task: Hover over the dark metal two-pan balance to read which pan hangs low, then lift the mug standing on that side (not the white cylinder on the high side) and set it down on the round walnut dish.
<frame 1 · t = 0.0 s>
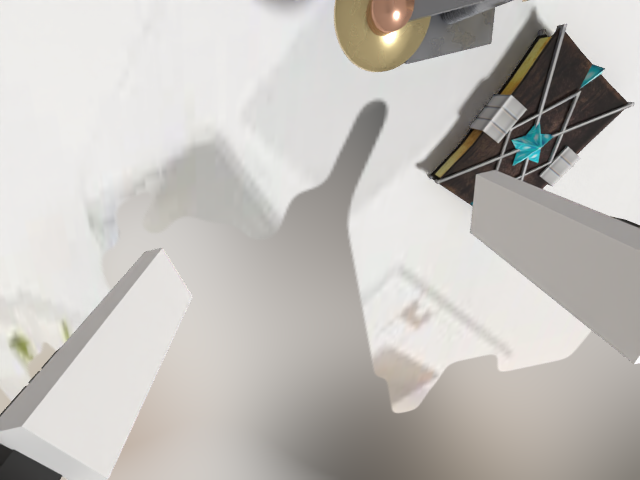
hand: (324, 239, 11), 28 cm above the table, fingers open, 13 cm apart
book: (512, 141, 39), on the table
balance: (447, 12, 30), on the table
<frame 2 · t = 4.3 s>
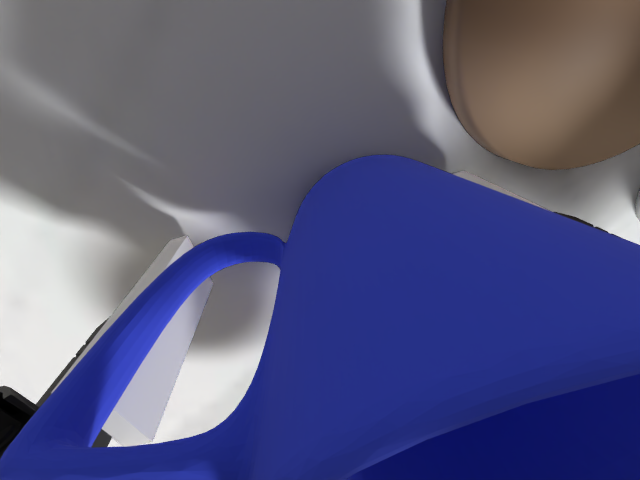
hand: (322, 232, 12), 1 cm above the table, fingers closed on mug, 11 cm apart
dish: (600, 0, 9), on the table
mug: (324, 221, 12), on the table, touching gripper
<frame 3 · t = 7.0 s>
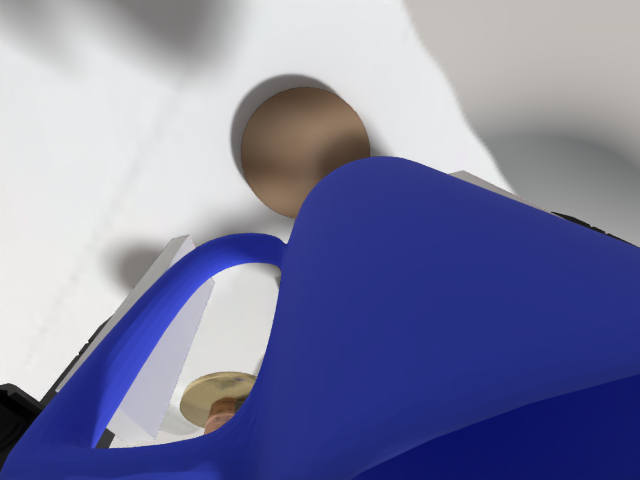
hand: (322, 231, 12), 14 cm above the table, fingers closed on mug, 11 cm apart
dish: (306, 158, 24), on the table
mug: (324, 222, 13), point 13 cm above the table, touching gripper
balance: (330, 297, 32), on the table
when the fingers open (3 cm above the table, at t = 9.5 s): mug drops 1 cm, resting on dish.
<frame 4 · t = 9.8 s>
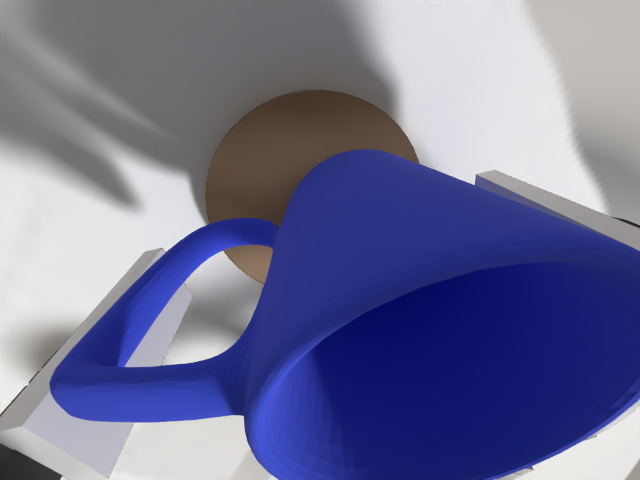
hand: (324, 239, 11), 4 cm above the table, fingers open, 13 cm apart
dish: (316, 204, 15), on the table
mug: (315, 211, 14), point 1 cm above the table, touching dish
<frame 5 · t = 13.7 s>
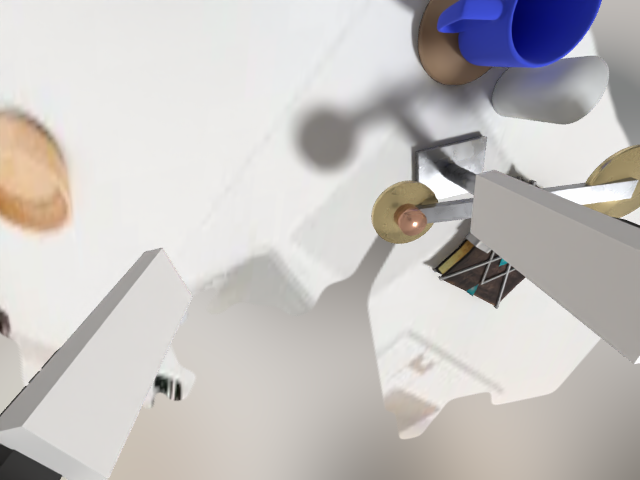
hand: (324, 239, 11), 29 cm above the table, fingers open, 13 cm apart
dish: (462, 32, 32), on the table
book: (499, 243, 50), on the table
white cylinder: (515, 91, 36), on the table
mug: (466, 30, 31), point 1 cm above the table, touching dish
balance: (447, 170, 41), on the table
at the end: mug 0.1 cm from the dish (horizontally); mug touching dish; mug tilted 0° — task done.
